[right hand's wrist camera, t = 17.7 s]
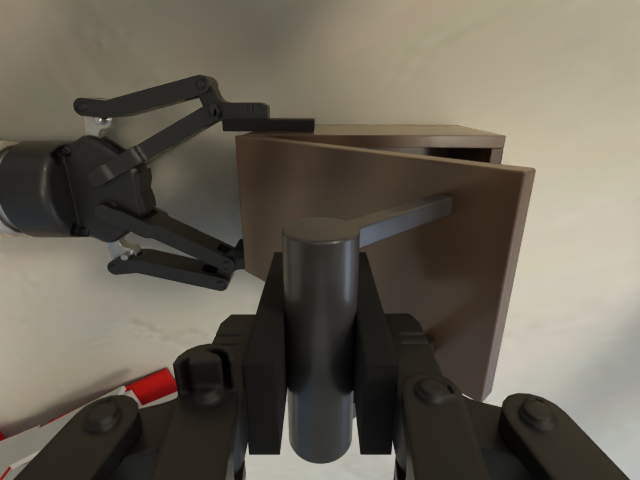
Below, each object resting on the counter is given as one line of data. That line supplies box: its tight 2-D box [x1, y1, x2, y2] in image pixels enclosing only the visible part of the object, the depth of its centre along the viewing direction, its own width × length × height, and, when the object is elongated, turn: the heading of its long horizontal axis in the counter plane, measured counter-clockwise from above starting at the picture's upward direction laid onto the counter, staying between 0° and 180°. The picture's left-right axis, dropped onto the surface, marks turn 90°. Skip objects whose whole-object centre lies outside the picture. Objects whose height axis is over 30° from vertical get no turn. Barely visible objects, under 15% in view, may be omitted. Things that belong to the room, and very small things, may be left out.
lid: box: [235, 135, 535, 464], centre depth 17 cm, size 17×9×8 cm
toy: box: [0, 368, 178, 480], centre depth 41 cm, size 12×13×30 cm
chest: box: [245, 125, 505, 164], centre depth 30 cm, size 17×9×10 cm, turn 90°
